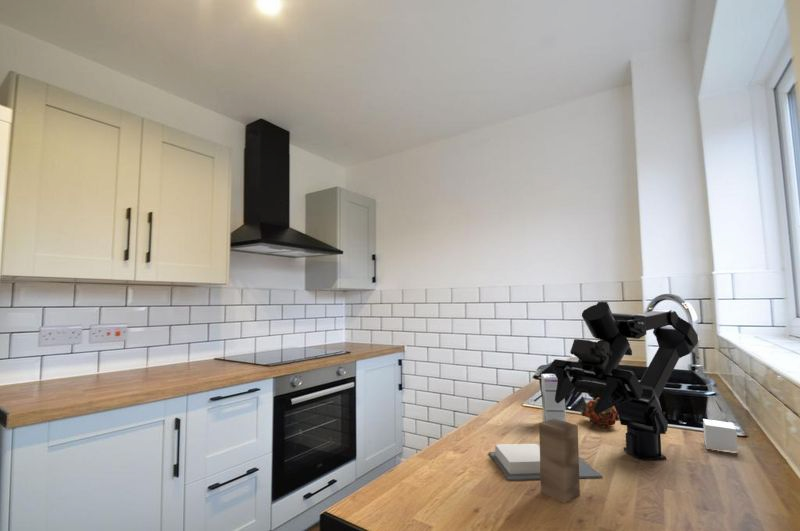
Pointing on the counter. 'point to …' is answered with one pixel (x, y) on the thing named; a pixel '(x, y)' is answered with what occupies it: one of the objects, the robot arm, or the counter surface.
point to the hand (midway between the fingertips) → (574, 406)
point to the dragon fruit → (600, 415)
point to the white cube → (720, 435)
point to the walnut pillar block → (559, 460)
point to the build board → (582, 471)
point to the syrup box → (551, 399)
